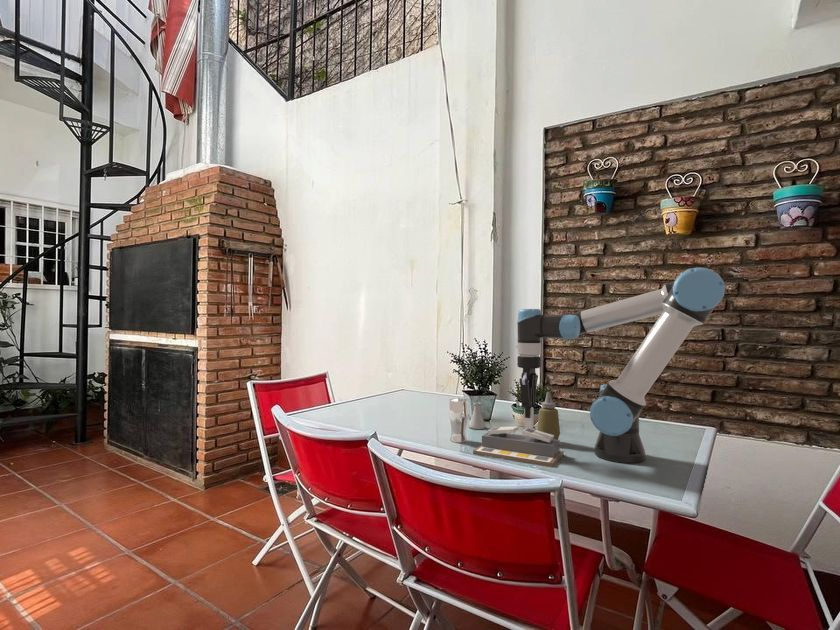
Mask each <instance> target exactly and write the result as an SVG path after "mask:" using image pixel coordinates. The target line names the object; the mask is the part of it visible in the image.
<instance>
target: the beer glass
mask: <svg viewBox="0 0 840 630" xmlns="http://www.w3.org/2000/svg"><path fill="white" fill-rule="evenodd" d="M448 414H449V424H450V428H451V431H450V432H451V433H450V439H449V440H450V442H451V443H455V444H464V443H467V441H468V439H467V438H468V437H467V431H466V430H467V425H468V419H469V403H468V399H467V398H464V397H463V398H461V397H459V398H458V397H456V398H450V399H449V406H448Z"/></svg>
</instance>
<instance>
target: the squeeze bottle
mask: <svg viewBox="0 0 840 630" xmlns="http://www.w3.org/2000/svg"><path fill="white" fill-rule="evenodd" d="M537 418H538V419H537V428H536V430H538V431H541V432H544V433H547V434H551V435H554V438H553V439H556V440H559V437H560V435H561V427H560V419H559V410H558V409H557V408H556V403H555V402H553V399H552V395H551V392H546V395H545V400H544V401H542V402H541V408H539V410H538V417H537Z"/></svg>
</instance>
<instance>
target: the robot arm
mask: <svg viewBox="0 0 840 630" xmlns="http://www.w3.org/2000/svg"><path fill="white" fill-rule="evenodd" d="M725 292H726V286H725V281H724V280H723V278H722V277H721V275H719V274H718V272H715V271H714V270H712V269H709V268H707V267H700V266H699V267H693V268H688V269H686V270H685V271H682V272H681V273H680V274H679V275H678V276H676V278H675V280H674V281H672V282H669V283H665V284H664V285H663V286H662V287H661V288H660V289H657V290H653V291H649V292H646V293H643V294H642V293H641V294H637V295H635V296H631V297H628V298H623V299H621V300H617V301H613V302H609V303H605V304H603V305H599V306H596V307H595V306H594V307H591V308H588V309H586V310H585V309H584V310H581V311H578V312H574V313H569V314H542V310H541V308H520V309H519V310H518V312H517V323H516V324H517V344H516V345H515V347H516V349H517V354H518V356H517V357H516V358H517V359H516V361H517V364H516V365H517V367H518V368H521V369H522V373H521V375H520V376H521V377H520V378H519V380H518V381H519V385H520V386H519V387H520V396H521V408H523V410H524V411H523V414H524V415H523V423H524V424H523V428H531V429H534V424H535V423H534V421H535V420H534V415H535V414H534V408H536V407H537V404H536V401H537V389H538V388H537V387H538V380H539V379H538V378H539V375H538V374H537V373H536V369H540V368H541V367H542V365H541V363H542V357H541V356H540V355H542V339H559V340H560V339H563V340H570V339H572V340H574V339H575V340H576V339H578V338H579V337H580V335H584V334H587V333H592V332H596V331H600V330H603V329H609V328H611V327H615V326H620V325H623V324H628V323H631V322H635V321H636V322H637V321H639V320H644V319H648V318H652V317H655V316H659V317H658V318H657V320H656V322H655V323H654V325H653V326H652V327H651V329H650V330H649V332H648V333H647V334H646V336H645V338H644V339H643V341H642V342H641V343H640V345H639V346H638V348H637V350H636V351H635V352H634V354H633V355H632V357H631V358H630V360H629V361H628V362H627V364H626V366H625V367H624V369H623V370H622V372H621V373H620V374H619V376H618V378H617V379H613V380H609V381H608V382H607V383H606V384H602V385H600V388H599V394H600V395H599V396H598V398H596V399H595V400H594V401H593V402H592V403H591V405H590V409H589V418H590V421H591V423H592V425H593V426H594V427H595V429H597V431H599V433H598V436H597V439H596V442H595V444H594V455H595V456H596V457H598V458H599V459H600V458H601V459H603V460H606V461H610V462H617V463H621V464H622V463H625V464H630V463H631V464H633V463H634V464H637V463H641V462H644V461H646V450H645V447H644V444H643V441H642V439H641V436H640V435H641V434H640V414H641V412H642V411H643V409H644V408H645V406H646V405H647V402H646V398H645V396H646V395H647V393H648V392H649V391H650V389H651V388H652V386H653V385H654V383H655V382H656V381H657V379H658V378H659V377H660V375H661V373H663V371H664V369H665V368H666V367H667V365H668V364H669V362H670V361H671V360H672V358H673V357H674V355H675V354H676V352H677V351H678V349H679V348H680V347H681V346H682V344H683V343H684V341H685V340H686V338H687V337H688V336H689V334H690V333H691V331H692V329H693V328H695V327H697V326H702V325H704V323H705V322H706V320H707V319H708V318H709V317H710V315H711V314H712V312H713V311H714V309H715V308H716V307H717V306H718V305H719V304H720V303H721V301H722V300H723V299H724V296H725V295H726V294H725Z"/></svg>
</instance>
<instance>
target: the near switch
mask: <svg viewBox="0 0 840 630" xmlns="http://www.w3.org/2000/svg"><path fill="white" fill-rule="evenodd" d="M521 435H526V436H530V437H533V438H536V439H539V440H542V441H546V442H549V443H550V442H551V441H552V440H553V438H554V435H551V434H547V433H544V432H541V431H538V430H537V429H534V428H527V427H525V429H523V430H522V433H521Z"/></svg>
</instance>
